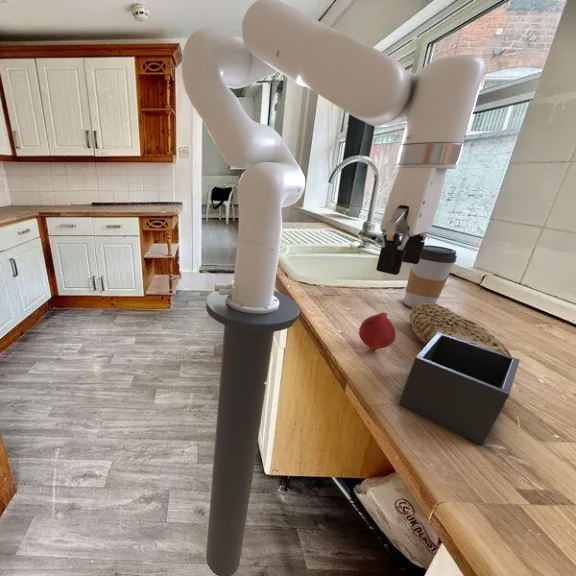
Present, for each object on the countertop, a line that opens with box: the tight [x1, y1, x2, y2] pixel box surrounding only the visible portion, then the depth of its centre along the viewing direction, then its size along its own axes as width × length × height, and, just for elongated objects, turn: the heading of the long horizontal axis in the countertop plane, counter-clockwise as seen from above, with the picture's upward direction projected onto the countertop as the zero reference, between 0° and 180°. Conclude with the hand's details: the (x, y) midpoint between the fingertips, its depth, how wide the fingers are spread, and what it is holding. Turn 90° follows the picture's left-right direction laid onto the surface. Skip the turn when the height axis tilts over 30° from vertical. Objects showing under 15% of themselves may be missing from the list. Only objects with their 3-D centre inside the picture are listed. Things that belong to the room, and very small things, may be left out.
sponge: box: [409, 303, 513, 357], centre depth 58 cm, size 13×8×20 cm
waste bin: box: [398, 332, 520, 446], centre depth 44 cm, size 11×9×8 cm
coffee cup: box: [403, 244, 458, 309], centre depth 76 cm, size 8×8×15 cm
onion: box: [358, 311, 397, 351], centre depth 57 cm, size 6×6×8 cm
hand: (397, 267), depth 52 cm, fingers open, 9 cm apart
